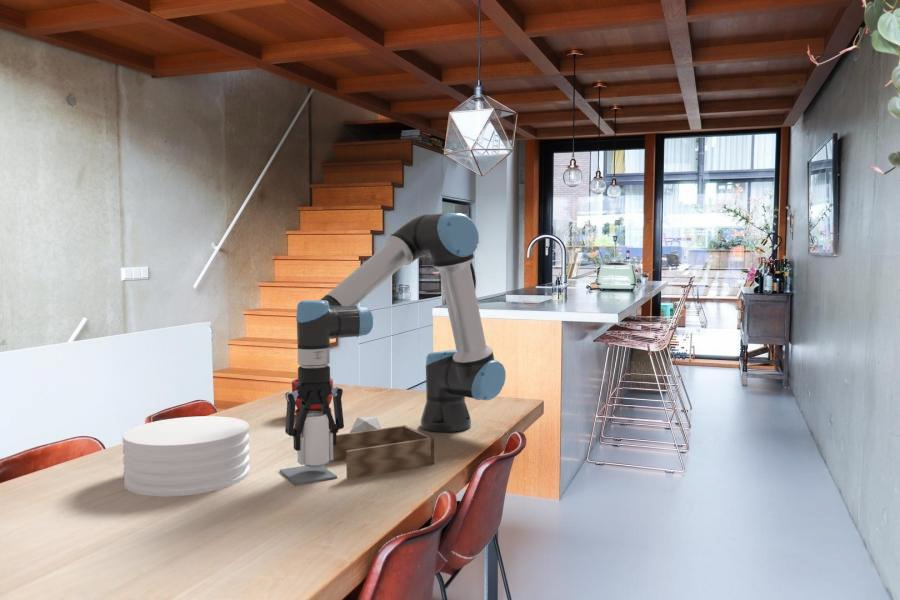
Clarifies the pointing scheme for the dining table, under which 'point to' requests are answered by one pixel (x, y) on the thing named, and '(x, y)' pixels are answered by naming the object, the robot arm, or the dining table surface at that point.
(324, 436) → the can
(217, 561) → the dining table surface
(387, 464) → the walnut u-shaped enclosure
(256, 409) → the dining table surface
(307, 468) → the slate mat
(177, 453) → the plate stack
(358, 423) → the die
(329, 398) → the plant pot
